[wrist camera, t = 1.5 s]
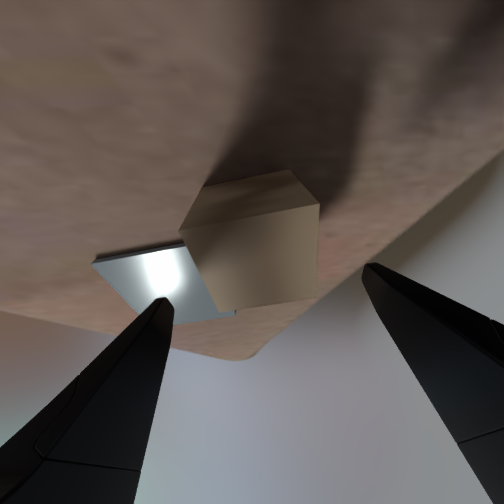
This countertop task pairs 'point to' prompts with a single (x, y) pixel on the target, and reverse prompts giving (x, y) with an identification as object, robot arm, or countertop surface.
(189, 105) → the countertop surface
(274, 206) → the beige cube
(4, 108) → the countertop surface
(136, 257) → the coaster
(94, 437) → the robot arm
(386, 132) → the countertop surface
